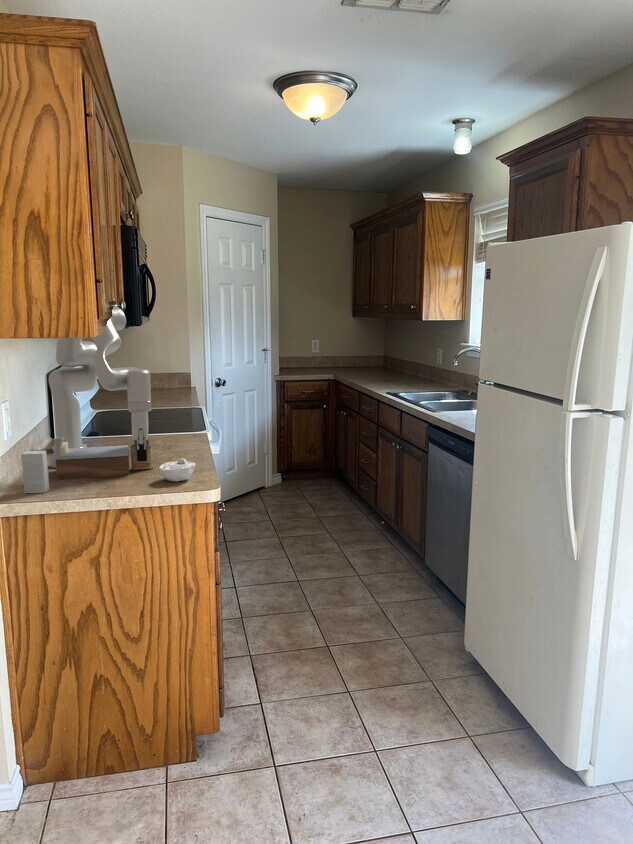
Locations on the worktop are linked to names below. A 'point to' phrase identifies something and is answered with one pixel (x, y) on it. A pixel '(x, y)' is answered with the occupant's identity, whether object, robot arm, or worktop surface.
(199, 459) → the worktop surface
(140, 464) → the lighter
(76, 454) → the lid
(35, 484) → the skincare box
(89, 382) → the robot arm
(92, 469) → the wooden box
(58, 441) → the flask
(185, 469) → the cell model
